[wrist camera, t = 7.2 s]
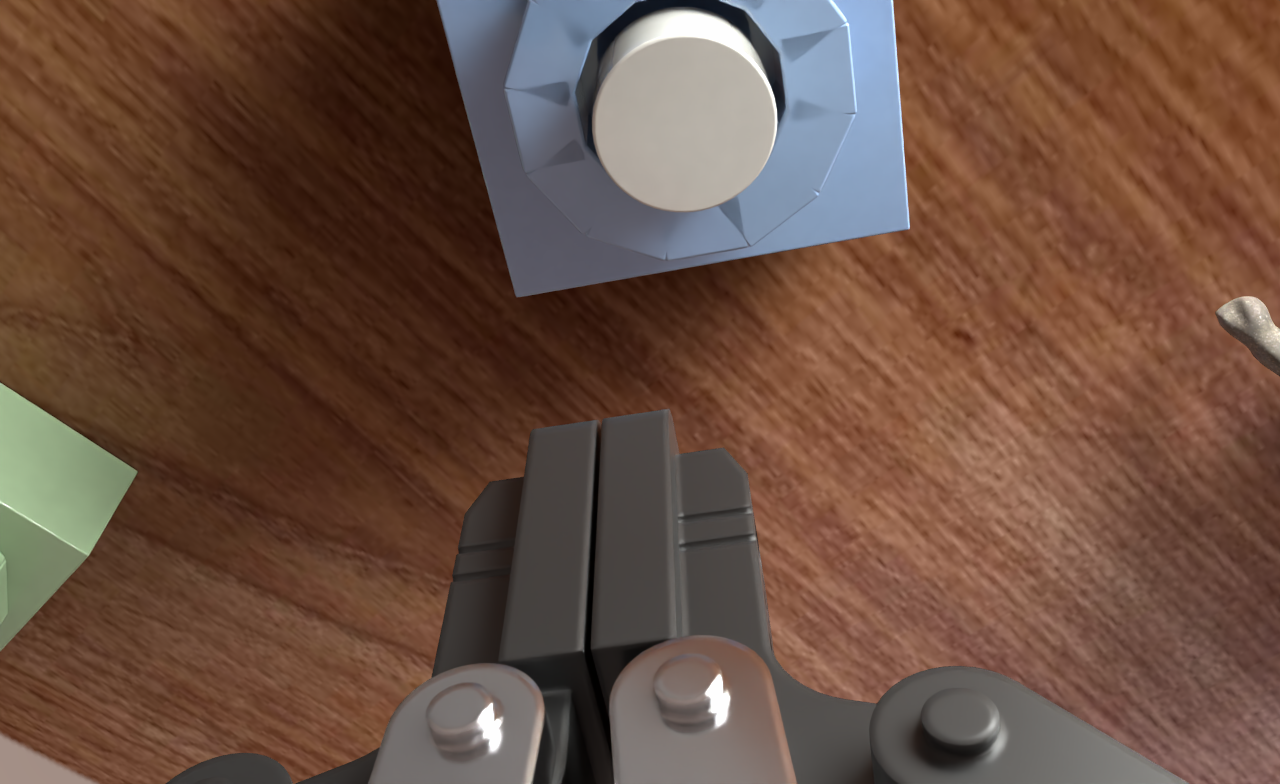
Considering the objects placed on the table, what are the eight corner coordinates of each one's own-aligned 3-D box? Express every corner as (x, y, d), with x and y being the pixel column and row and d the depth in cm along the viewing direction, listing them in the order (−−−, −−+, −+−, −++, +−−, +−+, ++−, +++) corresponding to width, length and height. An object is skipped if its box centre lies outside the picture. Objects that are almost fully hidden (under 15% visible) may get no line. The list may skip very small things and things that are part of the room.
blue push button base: (528, 216, 28) (508, 342, 23) (436, -151, 24) (387, -98, 19) (872, 155, 27) (930, 269, 22) (837, -234, 23) (899, -203, 18)
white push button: (612, 189, 22) (611, 228, 20) (577, 23, 20) (574, 53, 19) (776, 159, 22) (788, 196, 20) (754, -10, 20) (765, 16, 19)
